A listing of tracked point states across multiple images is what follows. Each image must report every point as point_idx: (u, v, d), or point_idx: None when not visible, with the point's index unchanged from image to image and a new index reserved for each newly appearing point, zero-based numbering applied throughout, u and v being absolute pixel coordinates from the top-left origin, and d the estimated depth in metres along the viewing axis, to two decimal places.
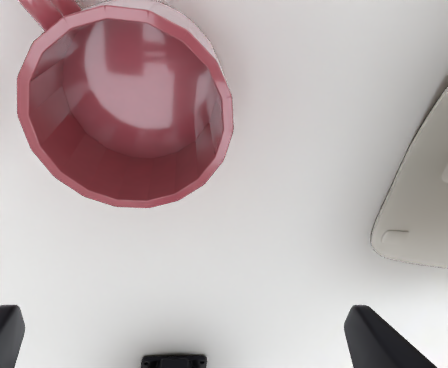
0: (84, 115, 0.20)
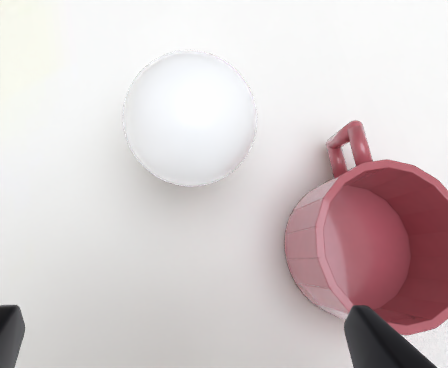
0: None
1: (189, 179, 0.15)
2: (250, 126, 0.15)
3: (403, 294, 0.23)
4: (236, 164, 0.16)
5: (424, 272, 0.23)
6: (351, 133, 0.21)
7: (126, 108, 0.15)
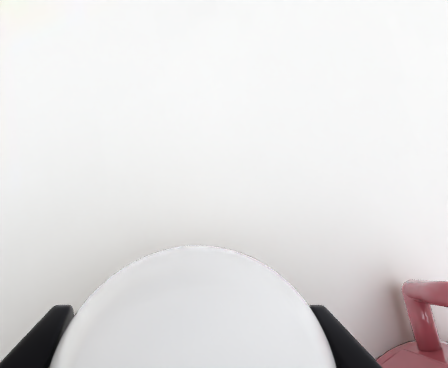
0: None
1: None
2: None
3: None
4: None
5: None
6: None
7: None
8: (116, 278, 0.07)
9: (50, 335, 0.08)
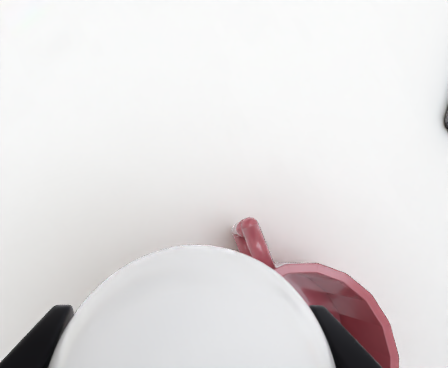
0: None
1: None
2: None
3: None
4: None
5: None
6: (245, 234, 0.19)
7: None
8: (115, 277, 0.07)
9: (50, 335, 0.08)
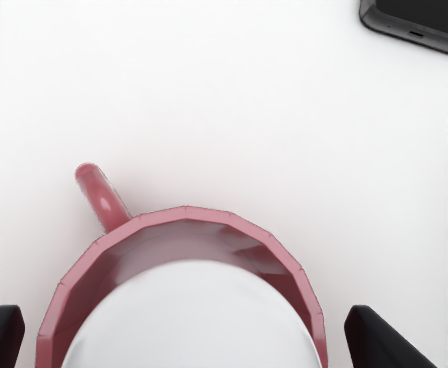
0: None
1: None
2: None
3: None
4: None
5: None
6: (81, 188, 0.13)
7: None
8: (120, 291, 0.08)
9: None
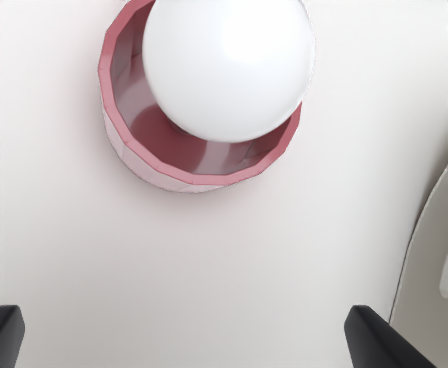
0: (123, 114, 0.19)
1: (214, 130, 0.12)
2: (306, 85, 0.12)
3: (247, 156, 0.21)
4: (273, 127, 0.13)
5: None
6: None
7: (157, 13, 0.11)
8: None
9: None
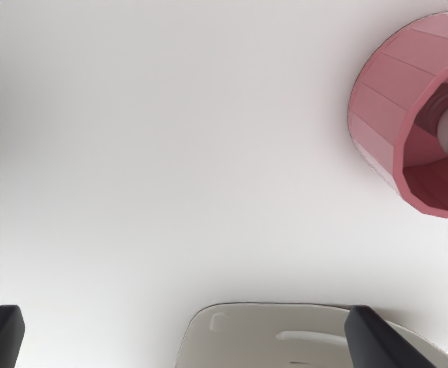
0: None
1: None
2: None
3: None
4: None
5: (424, 179, 0.21)
6: None
7: None
8: None
9: None
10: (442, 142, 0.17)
